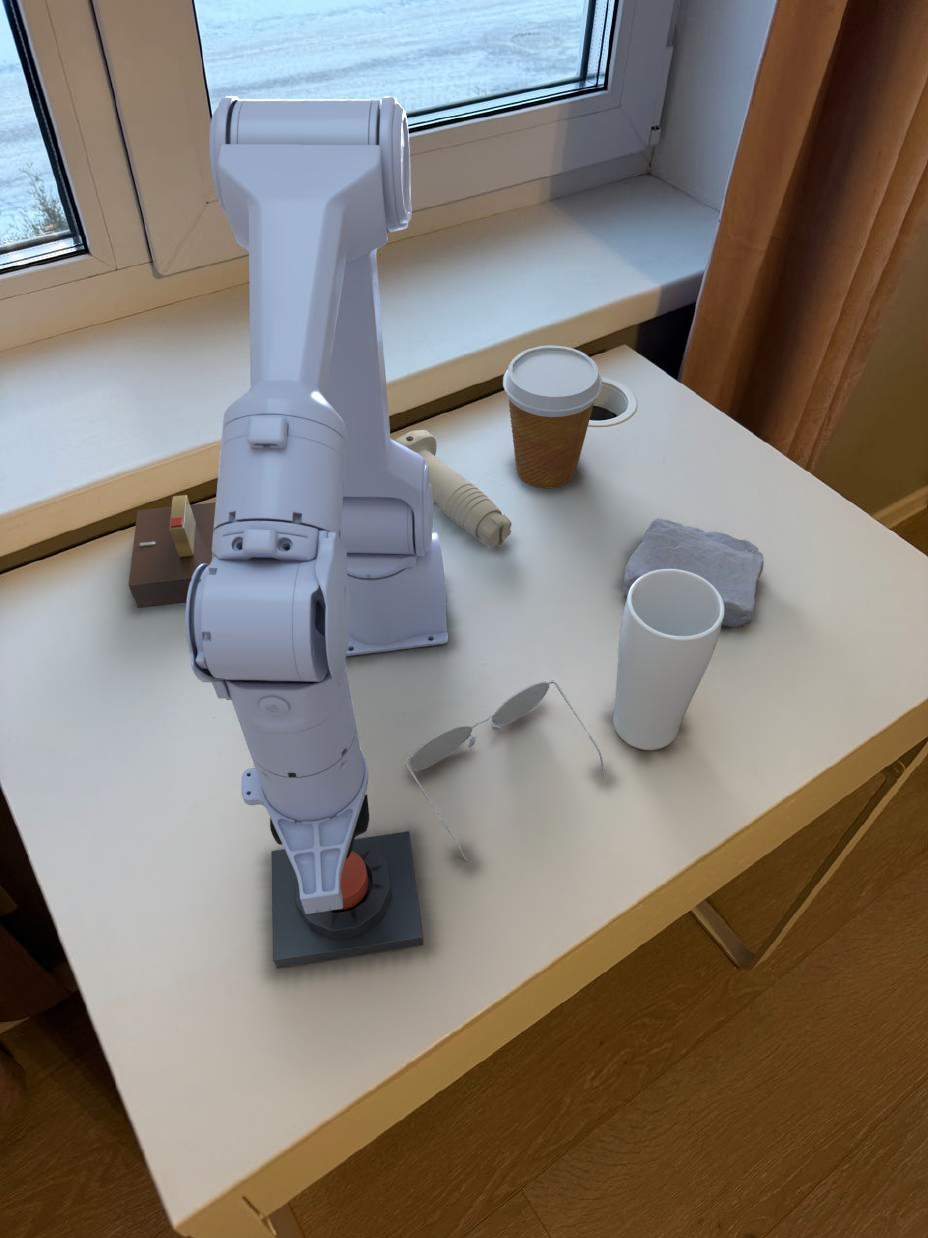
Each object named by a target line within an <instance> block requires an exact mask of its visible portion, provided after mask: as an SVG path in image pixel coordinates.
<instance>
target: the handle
mask: <svg viewBox="0 0 928 1238" xmlns="http://www.w3.org/2000/svg"><path fill="white" fill-rule="evenodd" d="M394 441H396V442H397V443H399V444H401V445H403V446H405V447H407V448H408V449H410V450H412V451H414V452H416V453H418V454H419V455H421V456H422V457H424V458H425V465H427V466H428V468H429V481H430V484H431V486H432V497H433V503H434V504H435V505H436V506H437V507H439V508H440V510H441V511H442V512H443V513H444V514H445V515H446V516H447V517H448V518H449V519H451V520H452V521H453V522H454V523H455V524H457V526H459V527H460V528H462V529H463V530H464V531H465V532H467V533H468V534H470V535H471V536H473V537H474V538H476V539H478V540H479V542H481V543H482V544H483V545H485V546H486V547H493V546H495V547H500V546H501V545H502V544H503V542H504V541H505V540H506V539H507V538H508V537H509V536H510V535H511V533H512V530H511V527H512V525H513V524H512V521H511V520H510V518H509V517H507V516H506V515H505V514H503V513H502V511H501V510H500V509H499V507H498V506H497V505H496V504H495V503H494V502H493V500H491V499H490V498H489V496H487V495H486V494H485V493H484V492H483V491H482V490H481V489H479V488H478V487H477V486H475V484H473V483H472V482H470V481H469V480H468V479H466V478H465V477H463V476H462V475H461V474H459V473H457V471H455V470H453V468H451V467H450V466H448V465H447V464H445V463H444V462H443V461H441V460H440V459H439V458H437V457H436V453H437V447H438V446H437V440H436V439H435V437H434V435H432V434H431V433H430V432H429V431H428V430H426V429H416V430H412V431H409V432H406V433H405V434H402V435H401V436H399V437H397V438H396V439H395V440H394Z"/></svg>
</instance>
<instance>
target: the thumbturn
mask: <svg viewBox="0 0 928 1238" xmlns="http://www.w3.org/2000/svg"><path fill="white" fill-rule="evenodd" d="M190 505H191V504H190V501H189V497H188V495H187V494H183V495H174V496H172V499H171V507H172V508H171V518H170V528H169V530H170V533H171V536H172V539H173V541H174V544H175V547H176V550H177V553H178V555H179V557H185V556H193V552H194V539H195V526H196V522H195V519H194V516H193V513H192V510H191V506H190Z"/></svg>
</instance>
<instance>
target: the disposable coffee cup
mask: <svg viewBox="0 0 928 1238" xmlns="http://www.w3.org/2000/svg"><path fill="white" fill-rule="evenodd" d="M502 387H503V389H504V391H505V394H506V396H507V399H508V406H509V418H510V424H511V425H510V426H511V434H512V443H513V451H514V461H515V470H516V471H515V472H516V474H517V475H518V477H519V478H520V479H521V480H522V481H523V482H524V483H526V484H527V485H530V486H533V487H536V488H540V489H554V488H559V487H562V486H565V485H567V484H568V483H570V482H571V481H572V480H573V479H574V477H575V476H576V473H577V469H578V465H579V461H580V458H581V453H582V450H583V446H584V442H585V439H586V436H587V431H588V428H589V424H590V419H591V416H592V412H593V408H594V405H595V402H596V400H597V399H598V397H599V396H600V394H601V392H602V390H603V379H602V377H601V375H600V373H599V368H598V365H597V364H596V362H595V361H594V359H592V358H591V357H590V356H589V355H587V354H586V353H585V352H582V351H580V350H578V349H575V348H572V347H568V346H562V345H540V346H536V347H535V346H534V347H530V348H528V349H526V350H523V351H521V352H520V353H518V354H517V355H516V356H514V357H513V358H512V360H511V361H510V363H509V364H508V368H507V369H506V371H505V372H504V374H503V377H502Z"/></svg>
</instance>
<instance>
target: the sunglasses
mask: <svg viewBox="0 0 928 1238" xmlns="http://www.w3.org/2000/svg"><path fill="white" fill-rule="evenodd" d="M551 684H553V685H554V686H555V687H556V688H557V690H558V692H559V693H560V695H561V697H563V700H564V701H565V702H566V703H567V705H568V706H569V708H570V710H571V711H572V713H573V714H574V715H575V717H576V718H577V720H578V722H579V723H580V725H581V726H582V728H583V729H584V730H585V732H586V733H587V735H588V738H589V740H591V742H592V744H593V746H594V747H595V749H596V751H597V752H598V755H599V760H600V767H601V769H600V770H601V776H602V778H603V779H604V780H606V775H605V774H606V772H605V768H604V761H603V755H602V752H601V750H600V748H599V746H598V744H597V743H596V741H595V740H594V738H593V736H592V735H591V734H590V733H589V732H588V730H587V728H586V727H585V726H584V723H583V722H582V720H581V718H580V717H579V716H578V714H577V712H576V711H575V709H574V708H573V706H572V704H571V703H570V701H569V700H568V698H567V696H566V695H565V693H564V692H563V690H562V688H561V687H560V685H559V684H558V683H557V681H555V680H553V679H552V680H549V681H544V680H543V681H539V682H535V683H533V684H531V685H529V686H527V687H524V688H523V689H521V690H520V691H517V692H516V693H515V694H513V695H512V696H510V697H509V698H508V699H506V700H505V701H504V702H503V703H502V704H501V705H500V706H499V707H498V708H497V709H496V711H495V712H494V713H493V714H491V715H489V716H488V717H486V718H485V719H483V720H481V721H478V722H476V723H474V724H473V725H471V726H470V725H468V724H467V725H458V726H455V727H451V728H450V729H447V730H445V731H443V732H440V733H439V734H437V735H435V736H433V737H432V738H430V739H428V740H427V741H425V743H423V744H422V745H420V746H419V747H418V748H417V749H416V750H415V752H414V753H413V754H412V755H409V756H408V757H406V758H405V759H404V766H405V767H406V769H407V771H408V772H409V773H410V775H411V776H412V778H413V780H414V781H415V782H416V784H417V785H418V787H419V789H420V790H421V792H422V793H423V795H424V796H425V798H426V799H427V800H428V802H429V803H430V804H431V807H432V808H433V809H434V811H435V812H436V814H437V815H438V817H439V818H440V820H441V823H442V824H443V826H444V827H445V829H446V831H448V833H449V835H450V837H451V838H452V839H453V841H454V842H455V843H456V845H457V846H458V849H459V850H460V852H461V855H462V857H463V859H464V860H465V861H466V862H468V860H467V858H466V856H465V854H464V851H463V850H462V848H461V846H460V843H459V842H458V840H457V838H456V837H455V835H454V834H453V832H452V831H451V829H450V828H449V827H448V825H447V823H446V822H445V820H444V819H443V818H442V817H441V815H440V813H439V812H438V810H437V808H436V807H435V805H434V804H433V801H431V799H430V797H429V796H428V793H427V792H426V790H425V788H423V786H422V784H421V783H420V781H419V780H418V778H417V777H416V775H415V772H413V770H414V771H421V770H425V769H427V768H429V767H432V766H434V765H435V764H438V763H439V762H440V761H442V760H444V759H445V758H447V757H449V756H450V755H451V754H452V753H454V752H455V751H456V750H457V749H458V748H460V747H461V746H462V745H463V744H464V743H466V741H467V740H468V739H469V743H468V744H467V748H468V749H470V748H472V747H473V746H474V745H475V743H476V741H477V738H478V737H477V734H475V735H474V736H473V735H472V732H473V728H475V727H477V726H479V725H481V724H483V723H485V722H487V721H489V720H490V719H491V722H492V723H491V724H492V725H491V729H493V730H494V731H497V732H501V731H502V727H501V726H503V725H507V724H509V723H511V722H514V721H516V720H518V719H519V718H521V717H523V716H525V715H526V714H527V713H529V712H530V711H532V710H533V709H534V708H535V707H537V706H538V705H539V704H540V703H541V701H542V700H543V699H544V698H545V696H546V695H547V693H548V691H549V689H550V685H551ZM470 737H471V738H470ZM408 762H409V763H408Z"/></svg>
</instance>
